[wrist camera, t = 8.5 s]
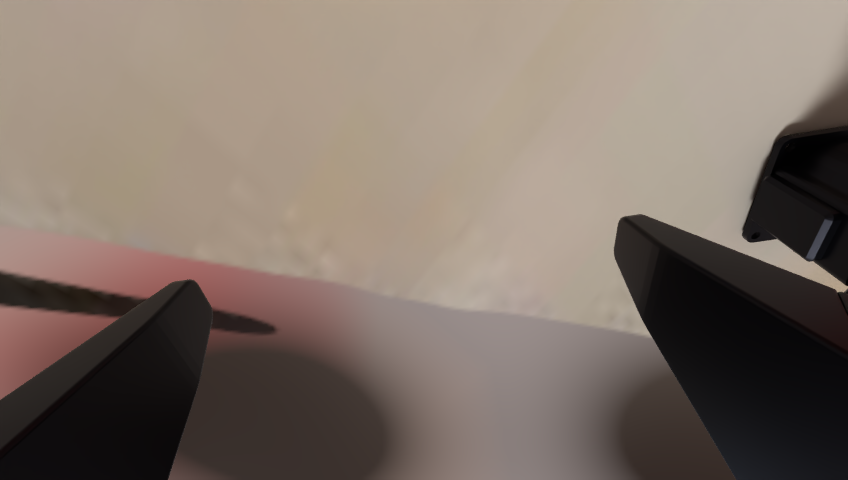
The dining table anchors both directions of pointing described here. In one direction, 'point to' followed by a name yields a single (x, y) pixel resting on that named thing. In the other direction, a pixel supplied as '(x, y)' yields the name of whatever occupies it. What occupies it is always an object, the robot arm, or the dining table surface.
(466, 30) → the dining table surface
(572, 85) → the dining table surface
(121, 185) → the dining table surface
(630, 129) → the dining table surface
